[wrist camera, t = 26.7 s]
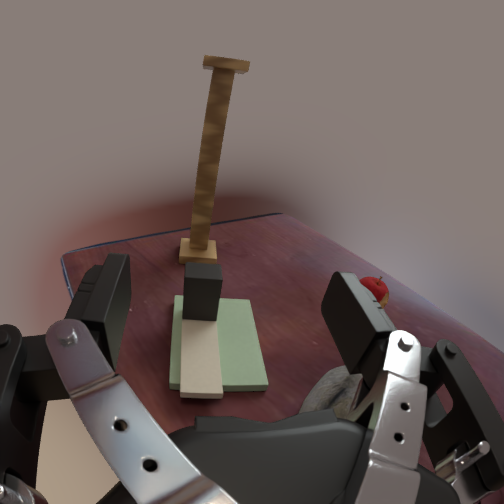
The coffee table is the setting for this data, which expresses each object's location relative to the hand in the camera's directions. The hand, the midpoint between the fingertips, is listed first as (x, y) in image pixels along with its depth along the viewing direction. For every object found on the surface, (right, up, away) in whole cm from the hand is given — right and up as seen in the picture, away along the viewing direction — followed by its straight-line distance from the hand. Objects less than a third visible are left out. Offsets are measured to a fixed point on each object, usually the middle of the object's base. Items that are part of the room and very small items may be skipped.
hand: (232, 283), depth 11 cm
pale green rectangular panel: (-4, -9, +22) cm, 25 cm away
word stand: (-8, +1, +39) cm, 40 cm away
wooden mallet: (-5, -9, +20) cm, 22 cm away
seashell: (+10, -16, +16) cm, 25 cm away
